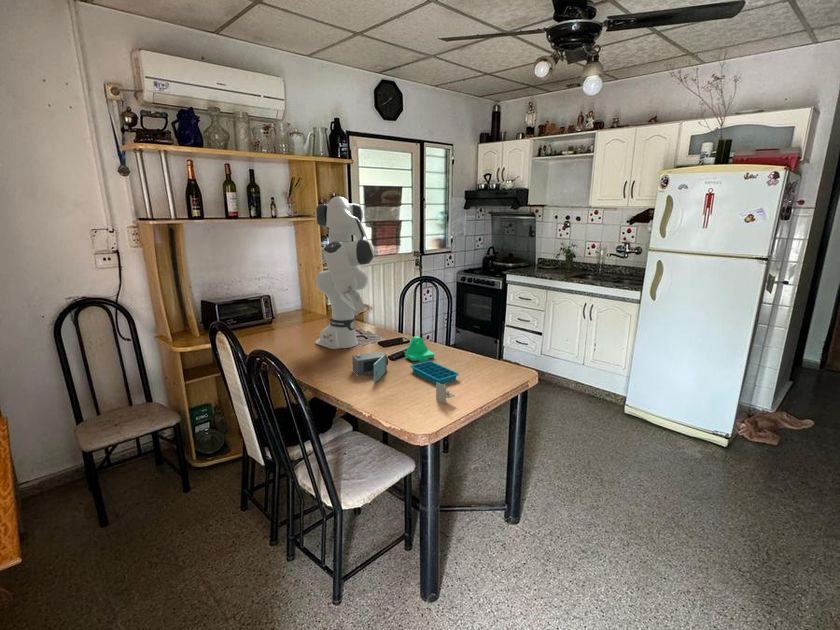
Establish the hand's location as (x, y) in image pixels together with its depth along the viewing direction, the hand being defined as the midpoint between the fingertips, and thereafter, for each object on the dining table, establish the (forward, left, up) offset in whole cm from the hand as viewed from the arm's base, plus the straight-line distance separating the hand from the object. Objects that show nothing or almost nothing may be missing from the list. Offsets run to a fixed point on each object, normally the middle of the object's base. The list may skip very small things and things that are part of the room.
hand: (356, 314), depth 176 cm
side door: (+8, +5, -27) cm, 29 cm away
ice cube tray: (+27, +18, -28) cm, 43 cm away
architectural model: (+41, -3, -28) cm, 49 cm away
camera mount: (+11, +34, -28) cm, 45 cm away
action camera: (0, +9, -27) cm, 29 cm away
